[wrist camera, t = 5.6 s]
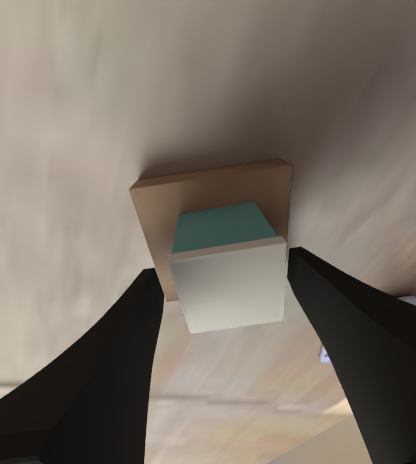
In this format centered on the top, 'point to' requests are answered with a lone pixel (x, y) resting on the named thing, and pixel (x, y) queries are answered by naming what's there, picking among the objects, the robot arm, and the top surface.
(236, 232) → the teal tin
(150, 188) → the walnut block
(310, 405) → the top surface
